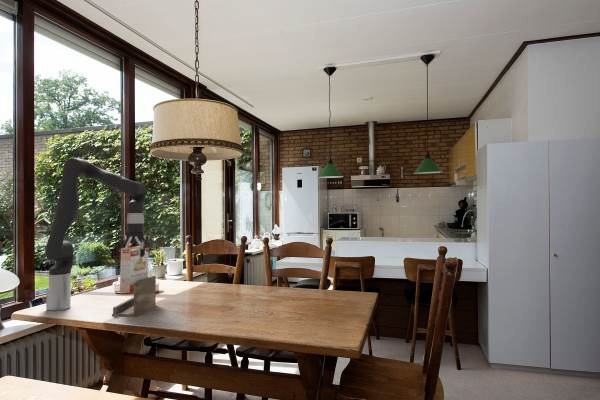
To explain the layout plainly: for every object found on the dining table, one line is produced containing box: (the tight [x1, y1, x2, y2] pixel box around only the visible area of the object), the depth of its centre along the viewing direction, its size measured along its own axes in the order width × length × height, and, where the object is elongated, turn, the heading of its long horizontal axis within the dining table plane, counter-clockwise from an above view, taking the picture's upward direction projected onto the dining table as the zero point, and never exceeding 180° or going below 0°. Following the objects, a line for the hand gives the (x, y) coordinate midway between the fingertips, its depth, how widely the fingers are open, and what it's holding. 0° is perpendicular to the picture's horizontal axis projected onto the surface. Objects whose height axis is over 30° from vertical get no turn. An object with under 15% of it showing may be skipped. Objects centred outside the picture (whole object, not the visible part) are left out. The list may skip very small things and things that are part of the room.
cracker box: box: [119, 245, 150, 294], centre depth 181 cm, size 14×6×21 cm, turn 168°
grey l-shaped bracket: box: [111, 275, 157, 317], centre depth 180 cm, size 12×20×15 cm, turn 179°
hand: (135, 256), depth 181 cm, fingers closed on cracker box, 6 cm apart
